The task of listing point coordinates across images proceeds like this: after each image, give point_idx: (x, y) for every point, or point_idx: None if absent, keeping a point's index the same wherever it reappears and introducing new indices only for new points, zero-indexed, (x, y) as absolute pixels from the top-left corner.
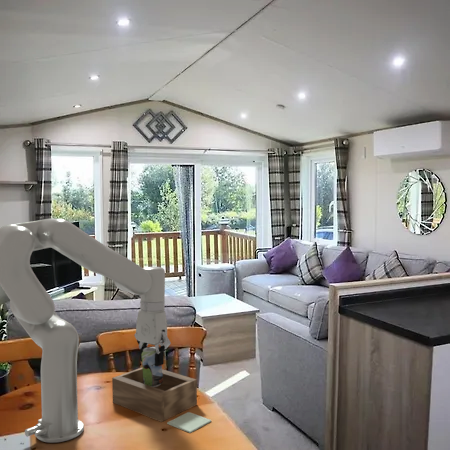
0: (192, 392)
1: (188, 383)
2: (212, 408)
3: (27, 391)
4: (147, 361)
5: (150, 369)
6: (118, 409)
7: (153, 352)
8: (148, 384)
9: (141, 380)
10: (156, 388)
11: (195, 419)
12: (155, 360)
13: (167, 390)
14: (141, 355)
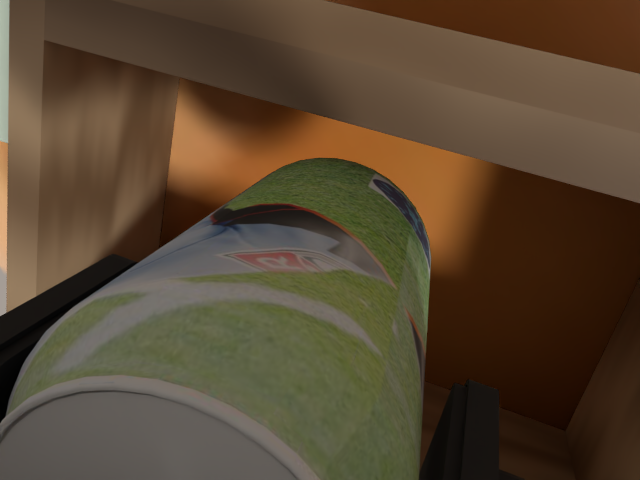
0: None
1: (10, 296)
2: None
3: None
4: (202, 244)
5: (218, 213)
6: (615, 3)
7: (14, 400)
8: (315, 160)
9: (615, 435)
10: (148, 64)
11: (4, 89)
12: (68, 292)
13: (31, 63)
14: (459, 457)
